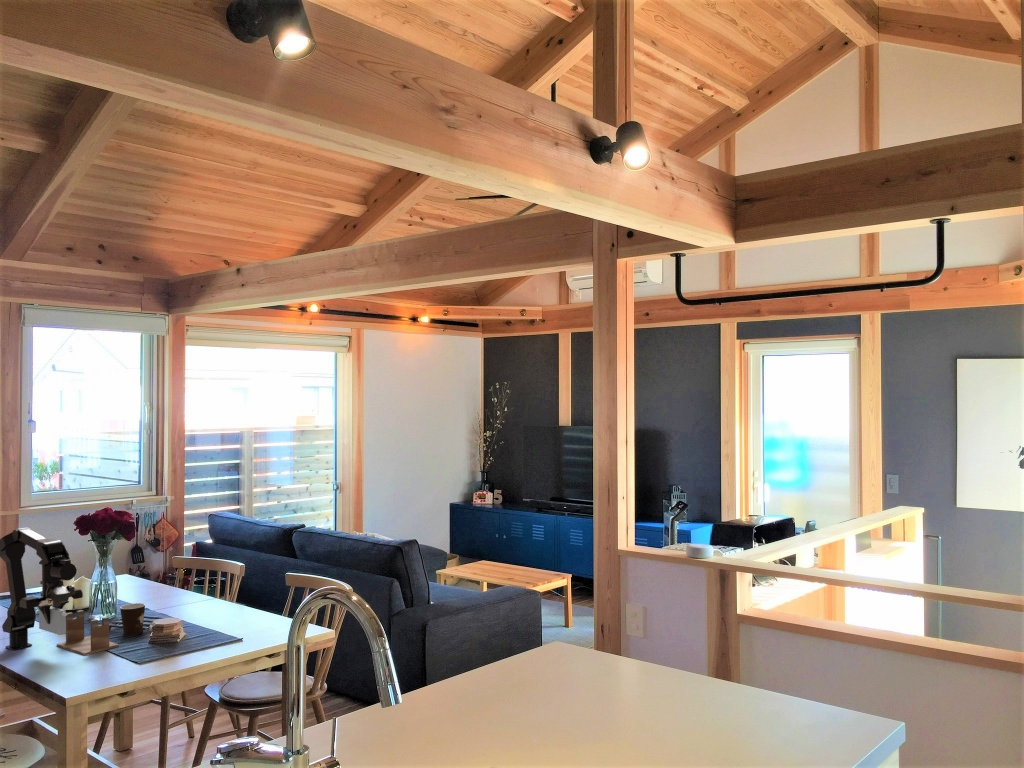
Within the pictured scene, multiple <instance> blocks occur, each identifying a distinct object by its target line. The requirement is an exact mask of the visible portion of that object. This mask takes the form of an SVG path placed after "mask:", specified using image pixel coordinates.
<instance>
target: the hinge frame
mask: <svg viewBox="0 0 1024 768" xmlns="http://www.w3.org/2000/svg"><path fill="white" fill-rule="evenodd" d="M66 613H67V616H66V634H65V641H63V642H60V643H56V647H58V648H60V649H63V650H67V651H70V652H72V653H75V654H76V653H77V654H79V655H82V656H88V655H92V654H96V653H99V652H102V651H103V652H104V651H107V650H111V649H115V648H118V647H119V645H120V644H119V643H115V642H112V641H110V617H109V616H104V617H101V624H99V621H98V619H96V618H95V619H91V620H89V621H90V622H89V625H90V626H89V627H90V635H89V636H85V611H84V610H83V609H80V610H76V617H74V613H73V612H72V611H71V612H66Z"/></svg>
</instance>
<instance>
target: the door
mask: <svg viewBox="0 0 1024 768" xmlns="http://www.w3.org/2000/svg"><path fill="white" fill-rule="evenodd" d="M36 608H37V610H38V625H39V626H38V629H40V630H42V631H45V632H48V633H52V634H55V635H58V636H63V635H66V616H67V613H68V612H66V611H67V610H66V609H63V608H62V609H60V608H56V607H53V605H51V606H50V624H47V622H46V620H45V618H44V616H43V614H42V612H41V611H40V609H39V608H38V607H36Z"/></svg>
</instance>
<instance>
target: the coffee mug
mask: <svg viewBox="0 0 1024 768" xmlns="http://www.w3.org/2000/svg"><path fill="white" fill-rule="evenodd" d="M119 610H120V616H121V623H122V630H123V631H122V632H123V635H124V636H134V635H139V634H142V633H143V631H144V630H143V629H144V619H145V611H146V604H145V603H141V602H138V603H137V602H136V603H134V602H133V603H127V604H123V605H121V606H120V607H119Z"/></svg>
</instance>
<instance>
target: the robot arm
mask: <svg viewBox="0 0 1024 768" xmlns="http://www.w3.org/2000/svg"><path fill="white" fill-rule="evenodd" d="M26 546H28V547H30V548H32V549H34V550H35V551H36V553H35V554H36V556H37V557H39V558H40V559H41V560H40V561H39V562H38V564H39V565H41V580H40V582H39V583H40V585H41V591H42V592H41V593H40V597H36V596H27V591H26V590H27V589H26V582H25V576H24V569H23V562H22V561H23V560H22V559H23V557H24V554H25V553H26ZM0 559H1V560H3V561H4V562H5V567H6V573H7V582H8V588H9V589H8V590H9V596H10V605H9V607H8V609H7V611H6V615H7V617H6V619H5V620H4V622H3V623H2V626H1V628H2V632H3V633H6V634H7V633H8V638H9V639H8V641H9V644H8V645H5V647H6V649H9V650H11V651H16V650H20V649H25V648H27V647H33V644H32V643H29V634H28V633H29V631H28V630H29V629H31V628H32V629H33V628H35V623H36V617H37V614H36V609H35V608H37V607H38V608H39V609H40V611H41V612H42V614H43V616H44V618H45V620H46V622H47V624H50V606H52V607H56V608H60V609H63V608H64V607H65V605H66V604H69V603H70V601H69V600H70V598H72V599H73V600H77V599H82V598H83V596H84V593H83V590H82V589H79V588H75V587H76V586H75V585H73V584H69V585H65V586H64V581H71V580H72V579H74V578H75V577H76V574H77V567H76V566H75V564H74V563H72V561H71V559H70V554H69V552H68V549H66V545H65V544H64V542H63V541H62V540H60V539H57V538H47V537H45V536H43V535H42V534H39V533H38V532H35V531H34V530H32V529H31V527H19V528H15V529H13V530H12V531H11V532H9V533H8V534H6V535H4V536H2V537H1V538H0ZM49 602H52V604H53V605H51V604H49ZM38 608H37V609H38ZM39 609H38V610H39Z"/></svg>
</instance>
